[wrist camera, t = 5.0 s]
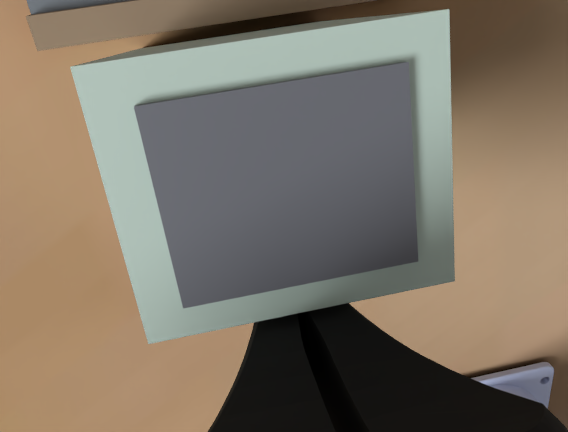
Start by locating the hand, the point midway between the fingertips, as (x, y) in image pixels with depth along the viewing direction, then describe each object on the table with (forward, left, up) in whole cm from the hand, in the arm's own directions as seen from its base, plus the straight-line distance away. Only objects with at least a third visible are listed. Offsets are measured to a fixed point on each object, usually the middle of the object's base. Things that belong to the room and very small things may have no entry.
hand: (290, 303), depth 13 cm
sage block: (+3, 0, -8) cm, 8 cm away
